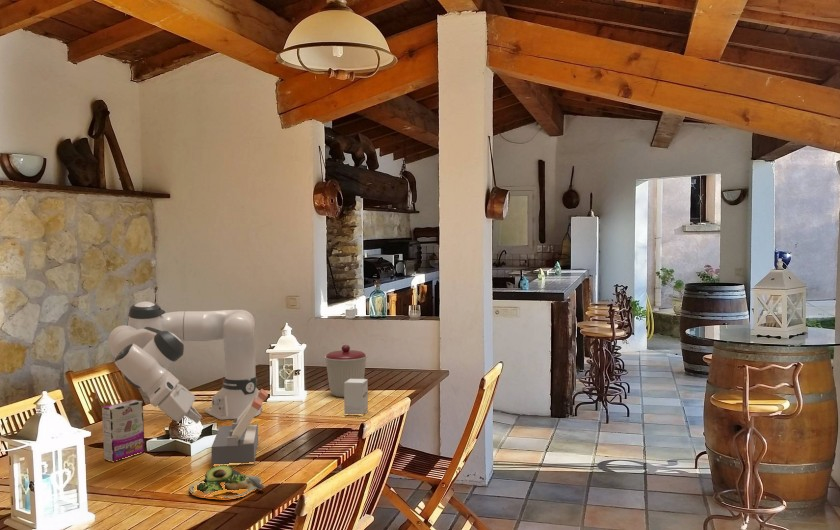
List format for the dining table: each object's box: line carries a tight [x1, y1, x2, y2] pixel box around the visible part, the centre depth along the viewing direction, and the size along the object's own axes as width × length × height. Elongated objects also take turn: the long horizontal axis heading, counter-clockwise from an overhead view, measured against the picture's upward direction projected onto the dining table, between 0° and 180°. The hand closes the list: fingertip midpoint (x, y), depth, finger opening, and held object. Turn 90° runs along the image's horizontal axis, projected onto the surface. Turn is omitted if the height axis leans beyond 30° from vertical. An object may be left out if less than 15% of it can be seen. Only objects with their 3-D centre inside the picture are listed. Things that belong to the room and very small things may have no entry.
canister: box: [323, 344, 368, 398], centre depth 290 cm, size 18×18×21 cm
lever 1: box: [236, 388, 269, 423], centre depth 220 cm, size 3×5×14 cm
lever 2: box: [232, 397, 263, 440], centre depth 206 cm, size 3×5×14 cm
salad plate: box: [188, 465, 266, 498], centre depth 184 cm, size 19×18×5 cm
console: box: [211, 417, 259, 466], centre depth 213 cm, size 12×23×8 cm, turn 10°
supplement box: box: [343, 378, 369, 415], centre depth 259 cm, size 7×7×13 cm
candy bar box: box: [101, 399, 146, 461], centre depth 211 cm, size 11×5×16 cm, turn 148°
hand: (199, 420), depth 203 cm, fingers closed
